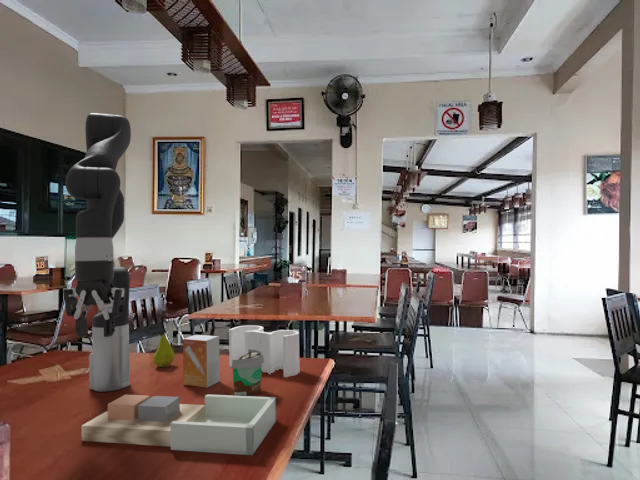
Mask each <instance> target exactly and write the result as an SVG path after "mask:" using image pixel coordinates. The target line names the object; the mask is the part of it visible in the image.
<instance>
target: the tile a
mask: <svg viewBox="0 0 640 480" xmlns="http://www.w3.org/2000/svg"><path fill="white" fill-rule="evenodd" d="M150 398H151V396H150V395H144V394H143V395H141V394H123V395H122V396H120V397H118V398H117V399H115V400H113V401H111V402H109V403H107V411H108V419H123V420H135V419H136V418H138V406H139V405H140V404H142V403H144V402H145V401H147V400H148V399H150Z"/></svg>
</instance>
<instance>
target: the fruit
mask: <svg viewBox="0 0 640 480" xmlns="http://www.w3.org/2000/svg"><path fill="white" fill-rule="evenodd" d="M175 354H176V353H175V352H174V349H173V348H172V346H171V344H170V341H169V340H168V338H167V337H166V336H165V335H164V330H163V329H162V332H161V337H160V340H159V343H158V347H157V349H156V351H155V353H154V355H153V362H154V365H156V366H157V367H159V368H167V367H169V366H170V365H172V363H174V361H175V356H176V355H175Z"/></svg>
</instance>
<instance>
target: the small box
mask: <svg viewBox="0 0 640 480" xmlns="http://www.w3.org/2000/svg"><path fill="white" fill-rule="evenodd" d="M220 366H221V365H220V336H218V335H217V336H216V335H208V334H207V335H206V334H205V335H202V334H201V335H200V334H195V335H190V336H188V337H184V338H183V339H182V371H183V373H182V374H183V375H182V376H183V380H182V382H183V383H182V384H183V385H184V386H192V387H200V388H204V389H205V388H209V387H212V386H213V385H215V384H217V383H219V382H220V377H221V376H220Z"/></svg>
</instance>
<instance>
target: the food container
mask: <svg viewBox="0 0 640 480" xmlns="http://www.w3.org/2000/svg"><path fill="white" fill-rule="evenodd" d="M262 363H264V357H263V354H262V352H261V351H258V350H250V349H248V354H246V355H244V356H241V357H240V358H239V359H238V360H232V367H231V369H232V375H233V377H232V378H233V380H232V381H233V393H234V395H233V396H255V397H257V395H259V394H260V393H261V384H262V372H261V371H262Z"/></svg>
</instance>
